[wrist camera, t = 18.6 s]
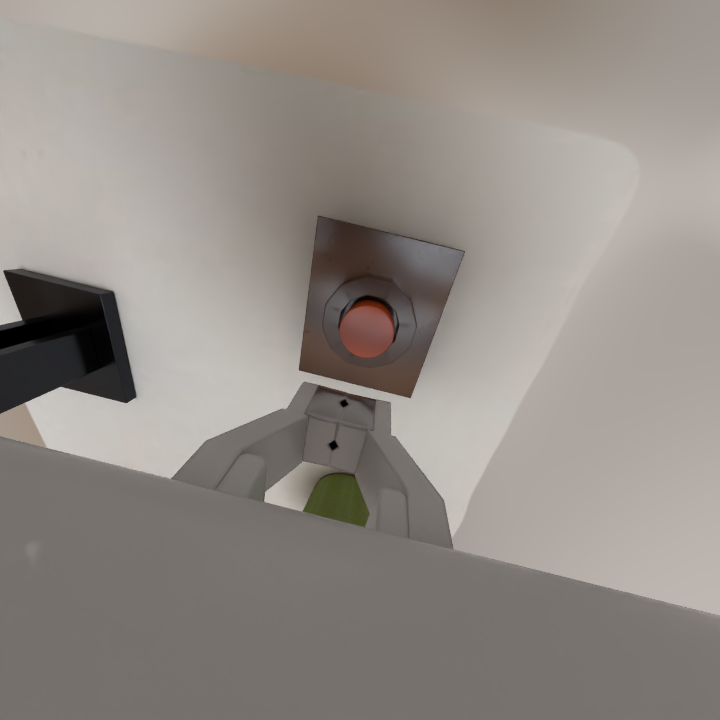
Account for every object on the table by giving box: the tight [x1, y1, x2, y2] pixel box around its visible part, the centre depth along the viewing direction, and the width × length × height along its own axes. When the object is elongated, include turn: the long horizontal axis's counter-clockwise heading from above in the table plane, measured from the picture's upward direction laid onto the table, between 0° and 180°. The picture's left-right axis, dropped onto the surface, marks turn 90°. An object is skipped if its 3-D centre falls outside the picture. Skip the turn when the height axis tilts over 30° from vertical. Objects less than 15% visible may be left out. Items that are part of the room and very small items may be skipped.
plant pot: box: [303, 474, 370, 527], centre depth 27 cm, size 12×12×11 cm
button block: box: [299, 216, 465, 398], centre depth 20 cm, size 12×10×4 cm
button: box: [339, 300, 394, 358], centre depth 17 cm, size 4×4×2 cm
